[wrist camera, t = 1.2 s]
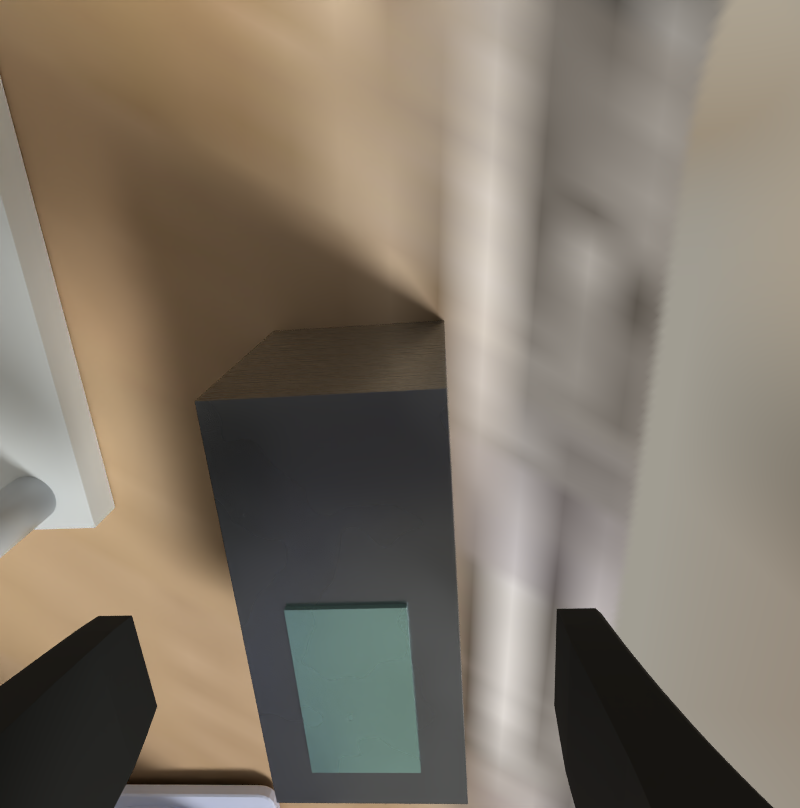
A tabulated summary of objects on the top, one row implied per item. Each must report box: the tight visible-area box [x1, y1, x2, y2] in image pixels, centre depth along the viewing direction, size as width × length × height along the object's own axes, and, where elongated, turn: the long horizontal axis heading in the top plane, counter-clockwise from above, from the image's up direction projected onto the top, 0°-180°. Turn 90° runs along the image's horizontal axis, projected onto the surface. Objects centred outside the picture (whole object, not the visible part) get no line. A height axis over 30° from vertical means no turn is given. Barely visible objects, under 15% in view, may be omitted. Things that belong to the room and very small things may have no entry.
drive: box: [195, 321, 468, 804], centre depth 13 cm, size 9×4×5 cm, turn 4°
